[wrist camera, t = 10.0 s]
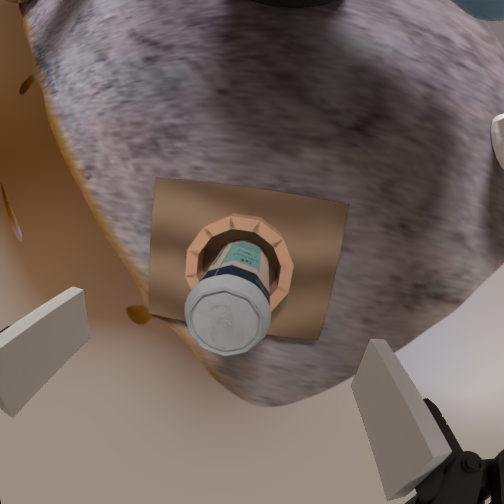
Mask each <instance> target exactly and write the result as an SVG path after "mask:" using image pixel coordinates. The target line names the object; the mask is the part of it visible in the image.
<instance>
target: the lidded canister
mask: <svg viewBox="0 0 504 504" xmlns="http://www.w3.org/2000/svg"><path fill="white" fill-rule="evenodd" d="M184 315H185V319H186V323H187V326H188V328H189V332H190V333H191V335H192V336H193V337H194V338H195V340H196V341H197V342H198V343H199V344H200V346H201V347H202V348H203V349H205V350H208V351H211V352H213V353H216V354H219V355H222V356H229V355H235V354H241V353H246V352H247V351H248V350H249V349H251V348H253V347H254V346H256V345H257V344H258V343H259V342H260V341H261V340H262V339H263V338H264V337H265V335H266V333H267V331H268V330H269V327H270V324H271V310H270V292H269V261H268V257H267V254H266V253H265V251H264V250H263V249H262V247H261V246H260V245H258V244H257V243H255V242H253V241H250V240H246V239H238V240H234V241H231V242H229V243H227V244H226V245H225V246H224V247H223V248H222V249H221V250H220V252H219V254H218V256H217V257H216V259H215V260H214V261H213V263H212V264H211V266H210V267H209V268H208V270H207V271H206V273H205V274H204V275H203V277H202V278H201V280H200V281H199V282H198V284H197V285H196V286H194V287H193V289H192V290H191V292H190V293H189V295H188V297H187V299H186V303H185V308H184Z"/></svg>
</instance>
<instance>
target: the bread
mask: <svg viewBox="0 0 504 504" xmlns="http://www.w3.org/2000/svg"><path fill="white" fill-rule="evenodd" d="M7 1H11V2H14V3H25V2H28V1H29V0H7Z"/></svg>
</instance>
